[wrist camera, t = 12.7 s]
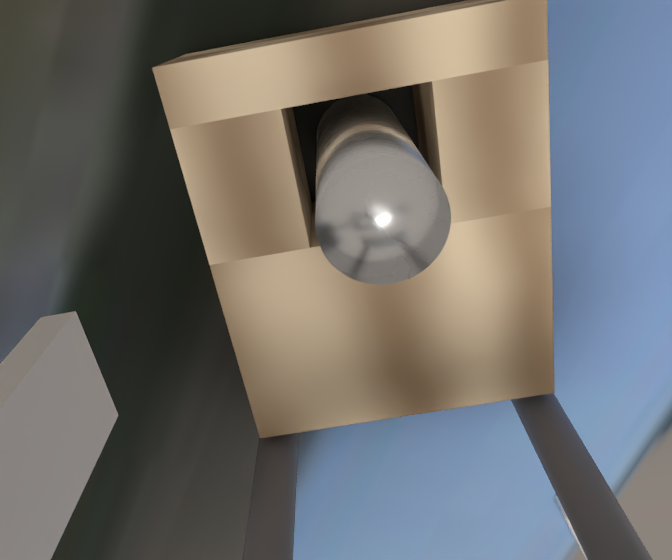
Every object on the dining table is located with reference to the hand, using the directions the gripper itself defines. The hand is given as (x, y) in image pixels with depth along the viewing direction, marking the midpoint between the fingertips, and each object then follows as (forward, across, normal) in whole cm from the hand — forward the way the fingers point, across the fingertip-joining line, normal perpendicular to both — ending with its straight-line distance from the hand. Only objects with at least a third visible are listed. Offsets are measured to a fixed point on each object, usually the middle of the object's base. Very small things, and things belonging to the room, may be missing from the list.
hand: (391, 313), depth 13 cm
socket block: (+17, +1, -3) cm, 18 cm away
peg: (+17, +1, 0) cm, 17 cm away
